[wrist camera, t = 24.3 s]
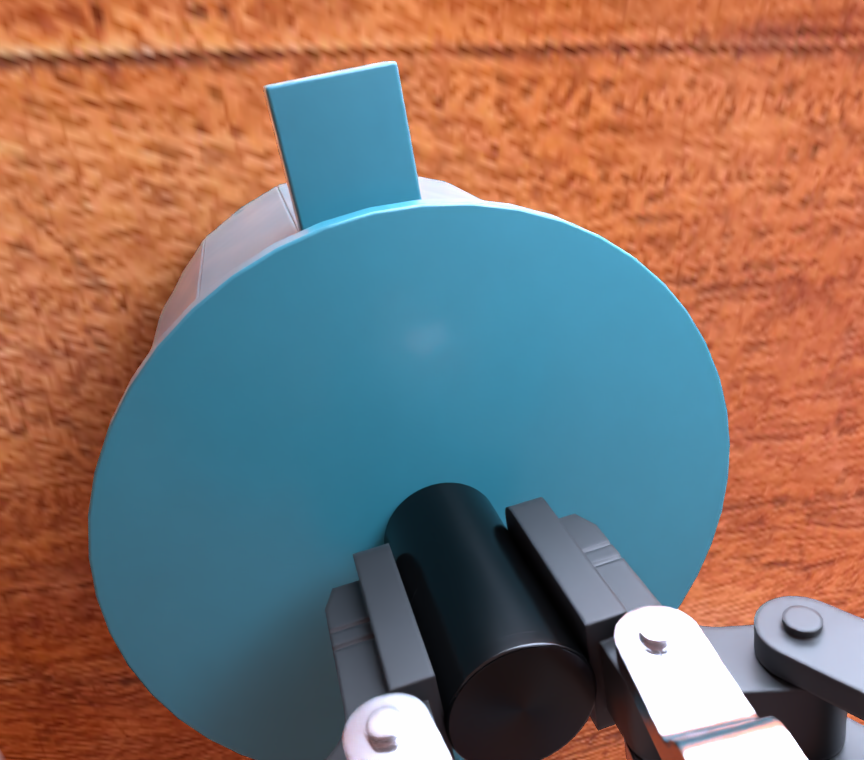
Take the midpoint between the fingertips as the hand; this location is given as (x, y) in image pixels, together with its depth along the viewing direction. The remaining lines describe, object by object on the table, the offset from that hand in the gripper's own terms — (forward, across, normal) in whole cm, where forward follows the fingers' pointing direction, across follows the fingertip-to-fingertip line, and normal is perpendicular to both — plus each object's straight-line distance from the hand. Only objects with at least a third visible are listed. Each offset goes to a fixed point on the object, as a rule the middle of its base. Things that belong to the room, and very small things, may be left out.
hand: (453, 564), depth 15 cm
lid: (+2, 0, 0) cm, 2 cm away
